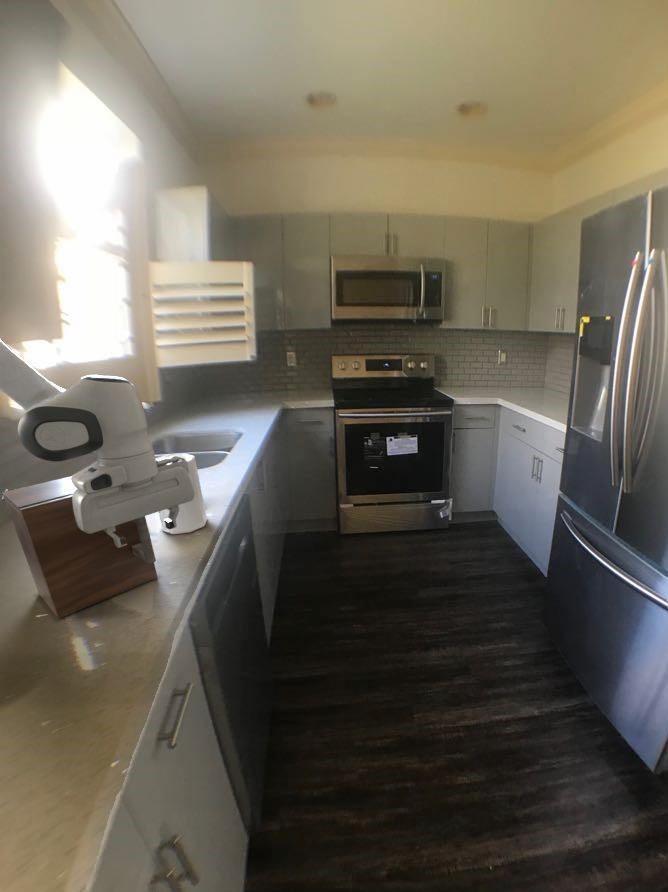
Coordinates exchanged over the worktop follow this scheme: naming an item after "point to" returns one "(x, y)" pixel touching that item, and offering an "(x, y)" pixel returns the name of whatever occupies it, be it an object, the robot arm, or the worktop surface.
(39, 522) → the cupboard door
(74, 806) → the worktop surface
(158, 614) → the worktop surface
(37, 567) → the cupboard
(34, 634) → the worktop surface
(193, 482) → the cup
